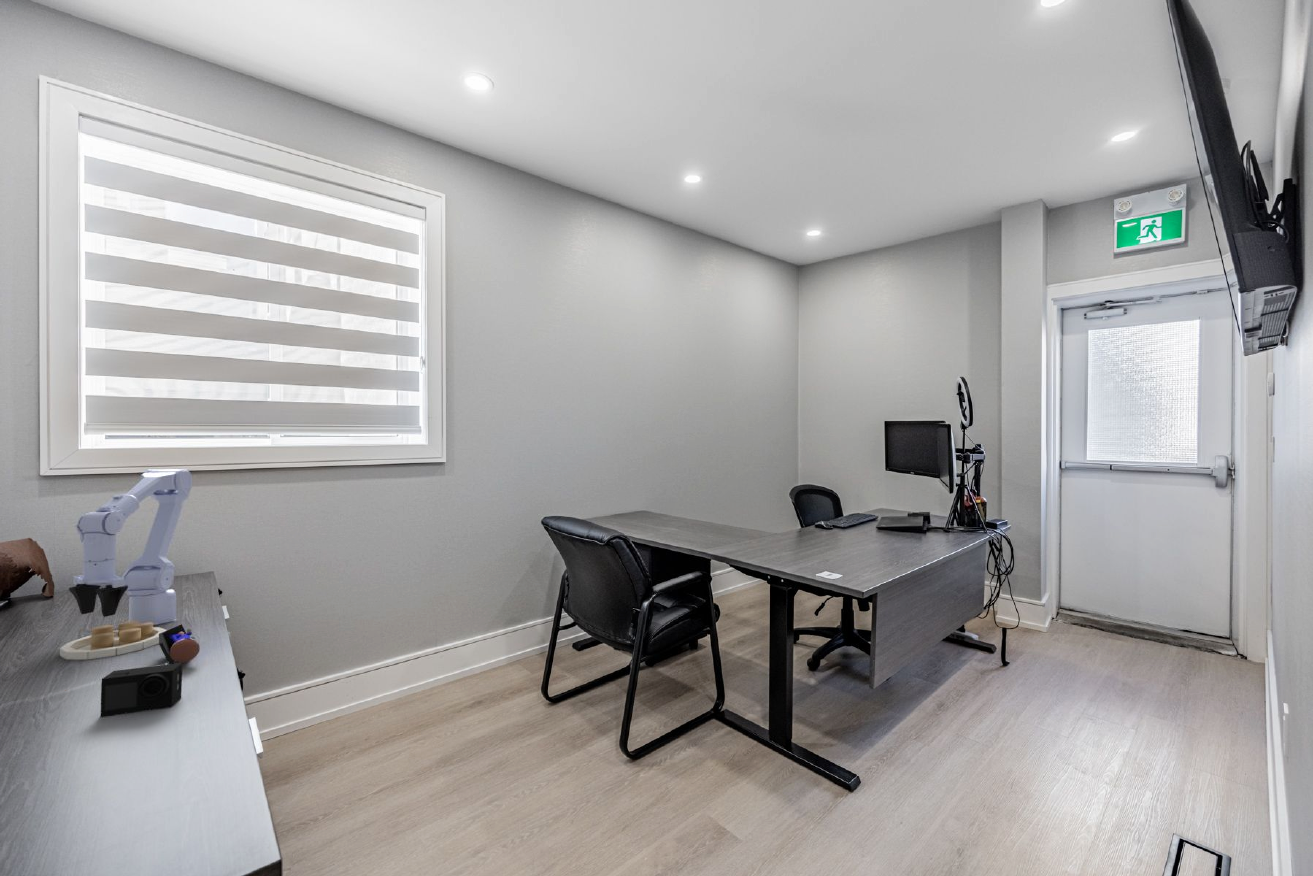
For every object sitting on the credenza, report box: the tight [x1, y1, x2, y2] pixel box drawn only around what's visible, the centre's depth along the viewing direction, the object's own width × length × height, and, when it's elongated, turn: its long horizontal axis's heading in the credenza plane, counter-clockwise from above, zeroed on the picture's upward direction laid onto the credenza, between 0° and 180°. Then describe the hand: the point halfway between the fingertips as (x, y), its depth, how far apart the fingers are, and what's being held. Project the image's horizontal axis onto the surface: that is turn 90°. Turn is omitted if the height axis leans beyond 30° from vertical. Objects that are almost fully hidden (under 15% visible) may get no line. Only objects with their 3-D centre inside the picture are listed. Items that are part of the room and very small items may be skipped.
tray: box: [59, 626, 168, 660], centre depth 133 cm, size 18×18×2 cm
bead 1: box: [91, 624, 115, 636], centre depth 134 cm, size 4×4×4 cm
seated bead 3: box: [132, 622, 154, 641], centre depth 137 cm, size 4×4×4 cm
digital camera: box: [100, 662, 183, 718], centre depth 101 cm, size 10×5×7 cm, turn 112°
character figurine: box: [158, 624, 201, 664], centre depth 124 cm, size 8×7×15 cm
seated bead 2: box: [119, 628, 141, 646], centre depth 132 cm, size 4×4×4 cm
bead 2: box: [117, 620, 139, 637], centre depth 138 cm, size 4×4×4 cm
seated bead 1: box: [90, 633, 114, 650], centre depth 129 cm, size 4×4×4 cm
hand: (98, 614), depth 135 cm, fingers open, 7 cm apart
